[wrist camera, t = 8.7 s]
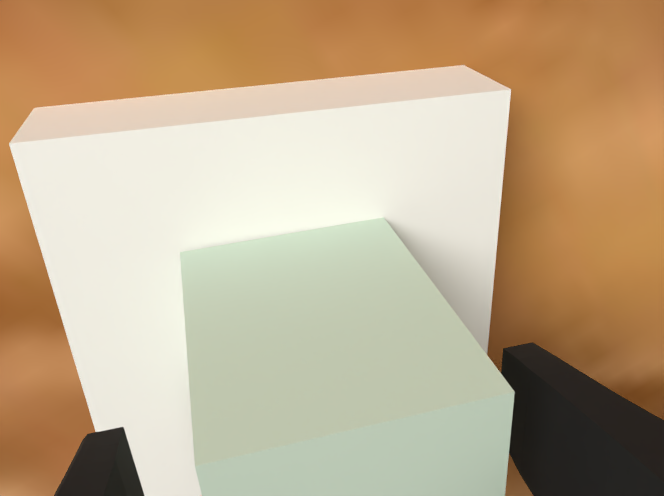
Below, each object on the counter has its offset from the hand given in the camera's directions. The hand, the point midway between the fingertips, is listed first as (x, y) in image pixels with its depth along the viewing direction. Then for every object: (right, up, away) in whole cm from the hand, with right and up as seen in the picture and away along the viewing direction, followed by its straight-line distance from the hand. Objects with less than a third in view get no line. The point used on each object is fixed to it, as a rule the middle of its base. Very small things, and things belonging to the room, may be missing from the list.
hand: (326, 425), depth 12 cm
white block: (-1, +3, +6) cm, 6 cm away
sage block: (-1, +2, +3) cm, 3 cm away
